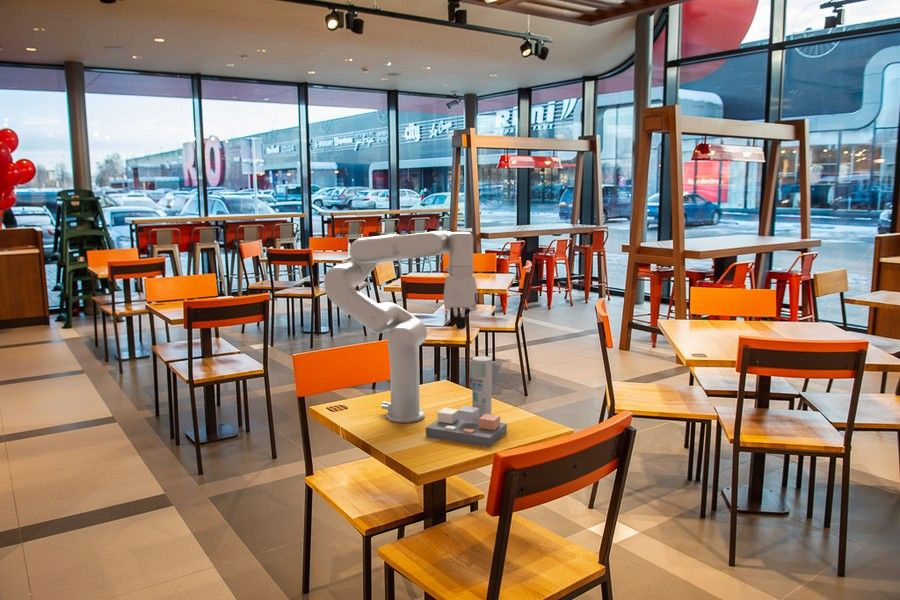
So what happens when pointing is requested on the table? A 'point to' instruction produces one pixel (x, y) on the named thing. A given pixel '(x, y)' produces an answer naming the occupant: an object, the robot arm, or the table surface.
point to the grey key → (468, 413)
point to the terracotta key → (489, 421)
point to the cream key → (447, 415)
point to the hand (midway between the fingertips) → (460, 328)
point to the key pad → (465, 432)
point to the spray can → (482, 384)
